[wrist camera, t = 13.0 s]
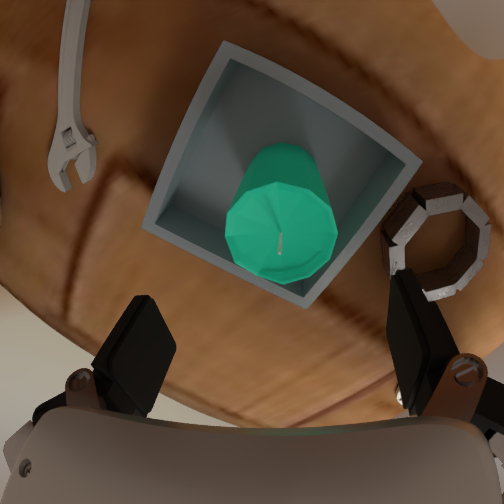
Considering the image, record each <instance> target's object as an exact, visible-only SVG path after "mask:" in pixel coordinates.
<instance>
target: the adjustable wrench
mask: <svg viewBox="0 0 504 504" xmlns="http://www.w3.org/2000/svg"><path fill="white" fill-rule="evenodd" d="M90 2H91V0H67V3H66V9H65V15H64V22H63V29H62V38H61V48H60V60H59V79H58V120H57V126H56V130H55V134H54V139H53V142H52V146H51V149H50V153H49V156H48V171H49V174H50V177H51V179H52V181H53V183H54V184H55V185H56V187H57V188H58V189H59V190H61V191H62V192H66V191H68V190H70V189H71V188H72V185H71V183H70V181H69V178H68V176H67V173H66V171H65V168H66V166H67V164H68V162H69V160H70V159H74V160H77V161H76V163H75V166H76V169H77V171H78V174H79V176H80V179H81V181H82V184H83V183H86V182H87V181H89V180H91V179H92V178H93V175H94V172H95V168H96V147H95V145H97V144H98V142H97V141H96V140H95V136H94V135H93V134H90V135H89V133H88V132H87V130H86V128H85V127H84V125H83V122H82V119H81V114H80V87H81V70H82V58H83V49H84V40H85V32H86V26H87V19H88V13H89V8H90ZM69 128H71V129H70V130H68V129H69ZM67 130H68V131H67Z"/></svg>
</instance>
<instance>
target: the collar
mask: <svg viewBox="0 0 504 504" xmlns="http://www.w3.org/2000/svg"><path fill="white" fill-rule="evenodd" d="M413 191H414V197H412V196H411V195H410V194H409V193H406V194H405V196H404V197H403V199H402V200H401V201H400V203H399V204H398V205H397V207H396V208H395V209H394V211H393V212H392V213H391V215H390V216H389V217H388V219H387V220H386V221H385V222H384V224H383V226H384V228H385V230H386V231H382V232H381V243H382V255H383V266H384V268H385V271H386V273H387V275H388V278H389V280H390V282H391V275H395V273H396V271H397V270H402V269H408V268H407V267H405V250H404V246H405V245H406V244H407V243H408V241H409V240H410V239H411V238H412V236H413V235H414V234H415V233H416V232H417V230H418V229H419V228H420V226H421V225H422V224H423V223H424V221H425V220H426V219H427V217H428V216H431V215H436V214H441V213H445V212H450V211H455V210H461V211H462V212H463V213H464V214H465V215H466V230H465V244H464V246H463V247H462V248H461V249H460V251H459V252H458V253H457V254H456V255H455V257H454V258H453V259H452V260H451V261H450V263H449V264H448V265H447V266H446V267H445V268H443V269H439V270H435V271H431V272H427V273H423V274H419V275H417V274H415V273H414V274H415V276H416V278H417V280H418V282H419V284H420V286H421V288H422V290H423V292H424V294H425V296H426V298H427V300H428V301H434V300H438V299H441V298H445V297H449V296H452V295H455V293H456V288H457V289H459V290H460V291H461V290H462V289H463V288H464V287H465V286H466V285H467V284H468V283H469V281H470V280H471V279H472V278H473V277H474V276H475V275H476V273H477V272H478V271H479V270H480V269H481V268H482V266H483V265H484V263H483V262H482V261H481V260H483V259H486V258H487V256H488V249H489V241H490V232H491V223H489V222H488V220H489V219H490V218H489V217H488V216H487V215H486V213H485V212H484V211H483V210H482V209H481V208H480V207H479V206H478V204H477V203H476V202H475V201H474V200H473V199H472V198H471V197H470V196H469V195H468V194H467V193H465V192H464V191H463V190H462V189H460V188H459V187H458V186H456V185H455V184H453V185H452V184H450V183H449V182H445V183H439V184H434V185H428V186H423V187H418V188H413Z"/></svg>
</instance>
